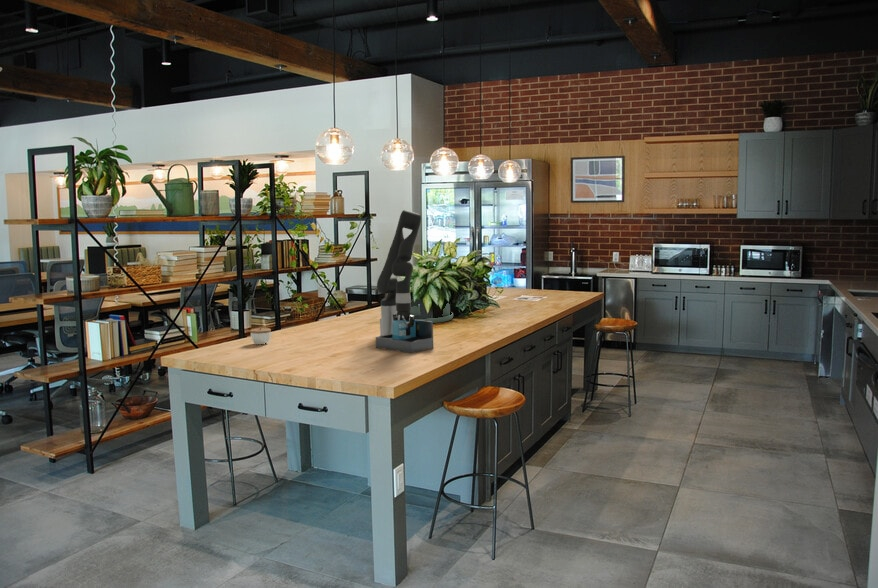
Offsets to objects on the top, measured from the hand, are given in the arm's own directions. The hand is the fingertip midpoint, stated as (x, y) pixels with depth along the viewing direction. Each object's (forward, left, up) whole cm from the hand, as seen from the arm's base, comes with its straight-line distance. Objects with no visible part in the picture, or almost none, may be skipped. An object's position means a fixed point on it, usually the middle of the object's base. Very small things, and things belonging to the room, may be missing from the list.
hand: (404, 334), depth 355 cm
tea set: (-57, +77, -7) cm, 96 cm away
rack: (0, 0, -7) cm, 7 cm away
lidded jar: (-73, -35, -7) cm, 81 cm away
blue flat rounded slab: (0, 0, -5) cm, 5 cm away
